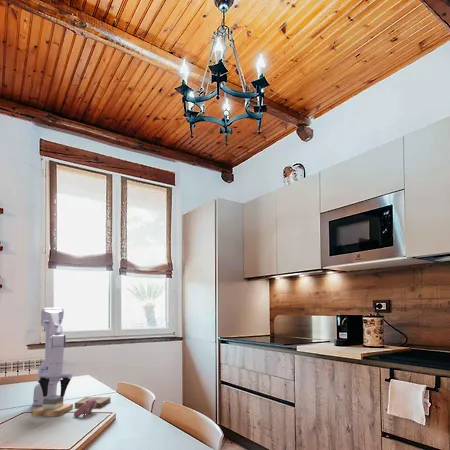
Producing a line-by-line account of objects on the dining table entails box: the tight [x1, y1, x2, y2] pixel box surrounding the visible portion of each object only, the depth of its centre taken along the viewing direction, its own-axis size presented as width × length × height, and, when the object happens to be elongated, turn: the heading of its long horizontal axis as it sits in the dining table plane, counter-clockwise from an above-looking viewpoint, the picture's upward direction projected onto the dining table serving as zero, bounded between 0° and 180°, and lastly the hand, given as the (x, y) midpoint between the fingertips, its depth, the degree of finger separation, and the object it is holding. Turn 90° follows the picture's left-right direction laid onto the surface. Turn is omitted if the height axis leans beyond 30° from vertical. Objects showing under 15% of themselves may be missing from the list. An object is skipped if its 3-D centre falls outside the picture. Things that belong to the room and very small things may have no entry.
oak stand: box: [31, 403, 74, 417], centre depth 177 cm, size 12×12×2 cm
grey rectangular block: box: [42, 394, 65, 410], centre depth 177 cm, size 5×8×4 cm, turn 176°
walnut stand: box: [74, 396, 111, 409], centre depth 190 cm, size 12×12×2 cm
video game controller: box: [73, 399, 97, 417], centre depth 173 cm, size 10×5×7 cm, turn 169°
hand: (53, 396), depth 178 cm, fingers open, 7 cm apart
